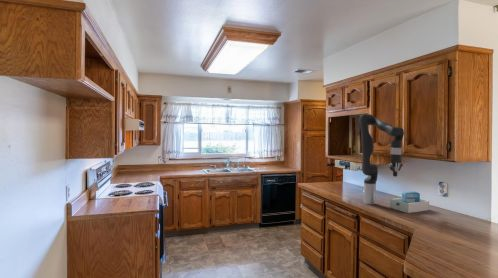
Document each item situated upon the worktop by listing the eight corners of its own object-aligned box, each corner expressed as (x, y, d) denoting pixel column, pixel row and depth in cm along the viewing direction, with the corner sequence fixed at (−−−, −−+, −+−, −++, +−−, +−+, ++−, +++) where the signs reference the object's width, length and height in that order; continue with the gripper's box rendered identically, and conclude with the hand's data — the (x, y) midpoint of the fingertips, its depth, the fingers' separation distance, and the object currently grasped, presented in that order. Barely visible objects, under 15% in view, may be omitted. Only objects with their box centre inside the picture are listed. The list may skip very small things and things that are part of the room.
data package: (405, 208, 226) (405, 192, 226) (401, 206, 231) (402, 191, 230) (419, 207, 227) (420, 192, 227) (415, 206, 232) (416, 191, 231)
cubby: (391, 207, 232) (392, 199, 231) (411, 205, 240) (412, 196, 239) (408, 212, 218) (408, 203, 217) (428, 210, 226) (429, 201, 226)
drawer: (388, 207, 231) (389, 198, 230) (410, 205, 239) (410, 196, 239) (405, 213, 217) (405, 203, 216) (427, 210, 225) (427, 201, 225)
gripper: (393, 154, 214) (392, 177, 214) (406, 153, 218) (405, 176, 219) (385, 153, 220) (384, 176, 221) (398, 152, 225) (397, 175, 226)
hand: (395, 176), depth 220 cm, fingers closed
